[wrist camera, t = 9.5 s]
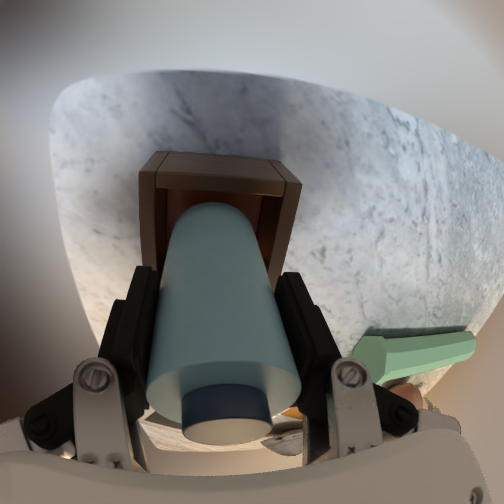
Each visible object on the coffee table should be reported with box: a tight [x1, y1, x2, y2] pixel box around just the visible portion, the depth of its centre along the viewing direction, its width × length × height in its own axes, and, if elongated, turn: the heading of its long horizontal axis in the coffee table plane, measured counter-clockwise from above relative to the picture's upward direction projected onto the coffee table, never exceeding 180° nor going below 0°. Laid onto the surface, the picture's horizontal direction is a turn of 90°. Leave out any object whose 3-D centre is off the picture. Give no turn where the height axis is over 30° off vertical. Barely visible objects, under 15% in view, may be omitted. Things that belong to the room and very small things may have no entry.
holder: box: [139, 151, 302, 293], centre depth 17 cm, size 7×14×4 cm, turn 171°
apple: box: [388, 383, 423, 410], centre depth 34 cm, size 8×8×8 cm
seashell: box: [261, 429, 303, 456], centre depth 38 cm, size 12×8×5 cm
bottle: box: [145, 202, 301, 446], centre depth 10 cm, size 4×4×10 cm
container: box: [353, 331, 477, 385], centre depth 29 cm, size 6×6×25 cm
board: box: [281, 407, 303, 420], centre depth 34 cm, size 6×12×2 cm, turn 131°
